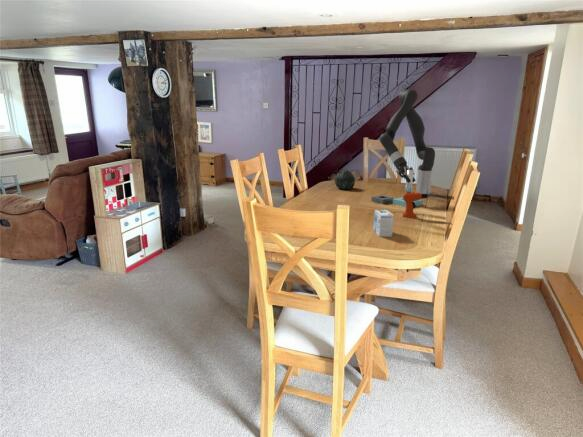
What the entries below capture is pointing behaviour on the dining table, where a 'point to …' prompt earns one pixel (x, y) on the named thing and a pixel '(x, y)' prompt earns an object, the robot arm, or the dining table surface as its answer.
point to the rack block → (401, 202)
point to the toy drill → (412, 203)
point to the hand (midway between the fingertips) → (411, 181)
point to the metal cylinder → (409, 185)
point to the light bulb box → (383, 223)
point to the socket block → (382, 199)
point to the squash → (345, 180)
